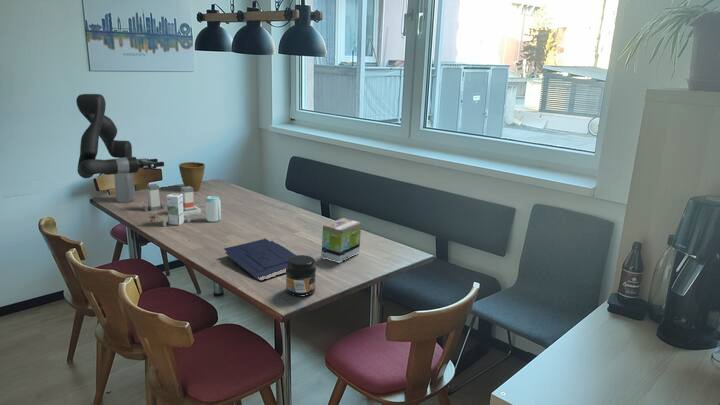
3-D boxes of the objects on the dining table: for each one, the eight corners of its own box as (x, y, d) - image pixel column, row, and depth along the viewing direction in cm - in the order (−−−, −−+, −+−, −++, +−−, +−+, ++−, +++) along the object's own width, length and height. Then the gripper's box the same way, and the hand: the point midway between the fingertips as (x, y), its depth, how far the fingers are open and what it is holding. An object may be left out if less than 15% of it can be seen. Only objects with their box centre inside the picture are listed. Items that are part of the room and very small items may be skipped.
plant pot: (175, 192, 304) (173, 165, 300) (187, 186, 319) (186, 161, 314) (198, 194, 302) (197, 167, 298) (210, 188, 316) (209, 163, 312)
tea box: (340, 264, 209) (341, 230, 205) (320, 258, 214) (321, 225, 210) (360, 254, 221) (361, 221, 217) (340, 248, 226) (342, 216, 222)
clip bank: (136, 210, 265) (135, 206, 265) (165, 206, 275) (165, 202, 274) (159, 227, 242) (159, 222, 242) (190, 221, 252) (190, 217, 251)
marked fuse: (181, 211, 266) (180, 187, 262) (190, 210, 269) (189, 185, 265) (185, 213, 262) (184, 188, 259) (194, 212, 265) (193, 187, 262)
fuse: (148, 208, 270) (146, 184, 266) (157, 207, 273) (155, 183, 269) (151, 210, 267) (149, 186, 263) (160, 209, 270) (159, 185, 266)
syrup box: (184, 222, 251) (183, 193, 248) (179, 225, 246) (177, 196, 242) (173, 221, 252) (171, 192, 248) (167, 224, 246) (166, 195, 242)
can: (203, 220, 255) (202, 197, 252) (213, 217, 261) (212, 194, 258) (213, 223, 252) (213, 199, 248) (223, 219, 258) (223, 196, 255)
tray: (174, 212, 266) (174, 207, 265) (193, 209, 272) (193, 204, 272) (182, 217, 259) (182, 212, 258) (201, 214, 265) (201, 209, 265)
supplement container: (299, 300, 176) (300, 268, 173) (279, 290, 183) (279, 259, 179) (321, 291, 184) (322, 260, 180) (301, 282, 190) (302, 252, 187)
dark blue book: (268, 243, 225) (269, 235, 224) (311, 272, 206) (312, 264, 205) (218, 255, 209) (219, 247, 207) (259, 288, 189) (260, 279, 188)
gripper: (130, 160, 234) (165, 157, 244) (120, 155, 244) (154, 152, 254) (131, 176, 236) (166, 172, 246) (121, 170, 246) (155, 167, 256)
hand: (160, 162), depth 250 cm, fingers open, 8 cm apart
